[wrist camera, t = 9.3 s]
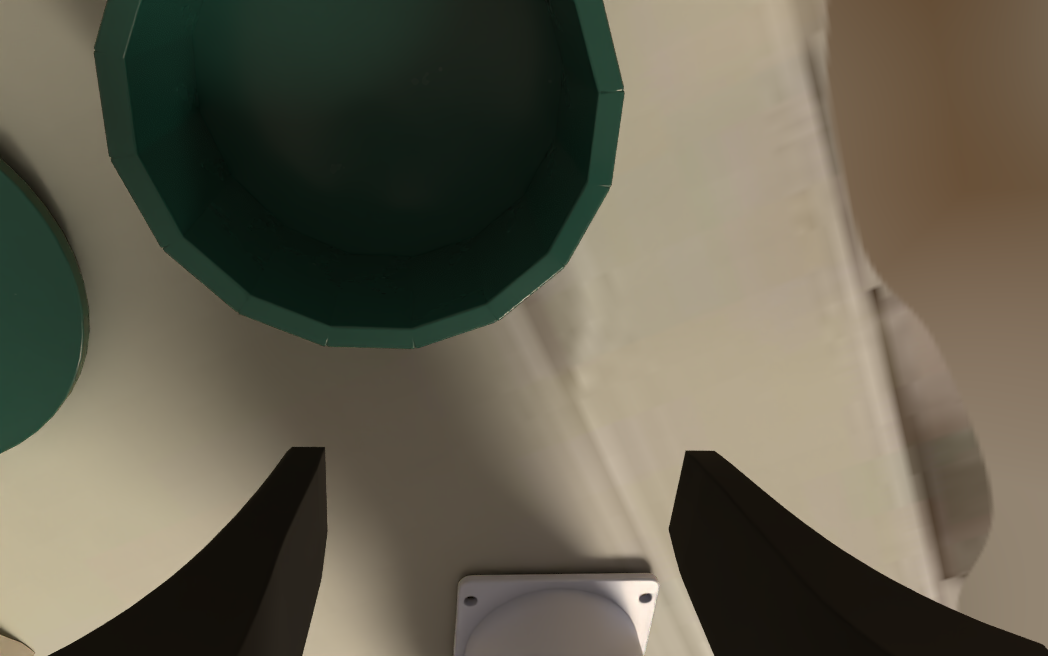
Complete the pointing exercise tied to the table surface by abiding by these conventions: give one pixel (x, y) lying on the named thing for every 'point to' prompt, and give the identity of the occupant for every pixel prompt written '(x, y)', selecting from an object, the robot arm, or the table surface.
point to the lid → (36, 313)
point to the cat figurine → (13, 648)
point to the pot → (363, 152)
